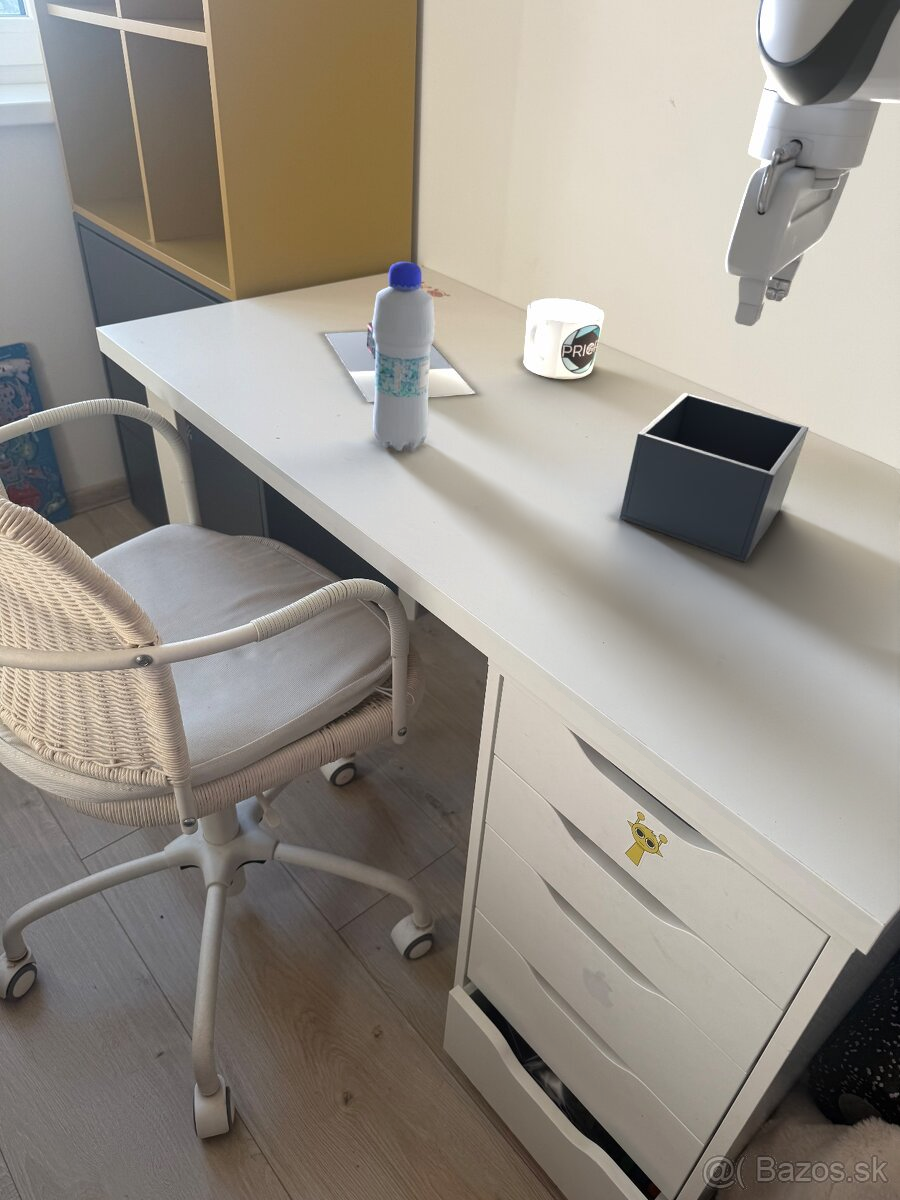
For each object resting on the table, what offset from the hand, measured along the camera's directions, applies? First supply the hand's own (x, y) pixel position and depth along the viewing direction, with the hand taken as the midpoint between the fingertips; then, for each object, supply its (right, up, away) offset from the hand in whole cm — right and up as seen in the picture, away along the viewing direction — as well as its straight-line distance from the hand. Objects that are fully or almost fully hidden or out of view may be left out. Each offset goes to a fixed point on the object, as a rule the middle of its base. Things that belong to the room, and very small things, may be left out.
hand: (761, 310), depth 75 cm
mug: (-14, +7, +43) cm, 46 cm away
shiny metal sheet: (-36, +7, +41) cm, 55 cm away
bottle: (-34, -8, +22) cm, 41 cm away
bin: (-1, -17, +13) cm, 21 cm away
